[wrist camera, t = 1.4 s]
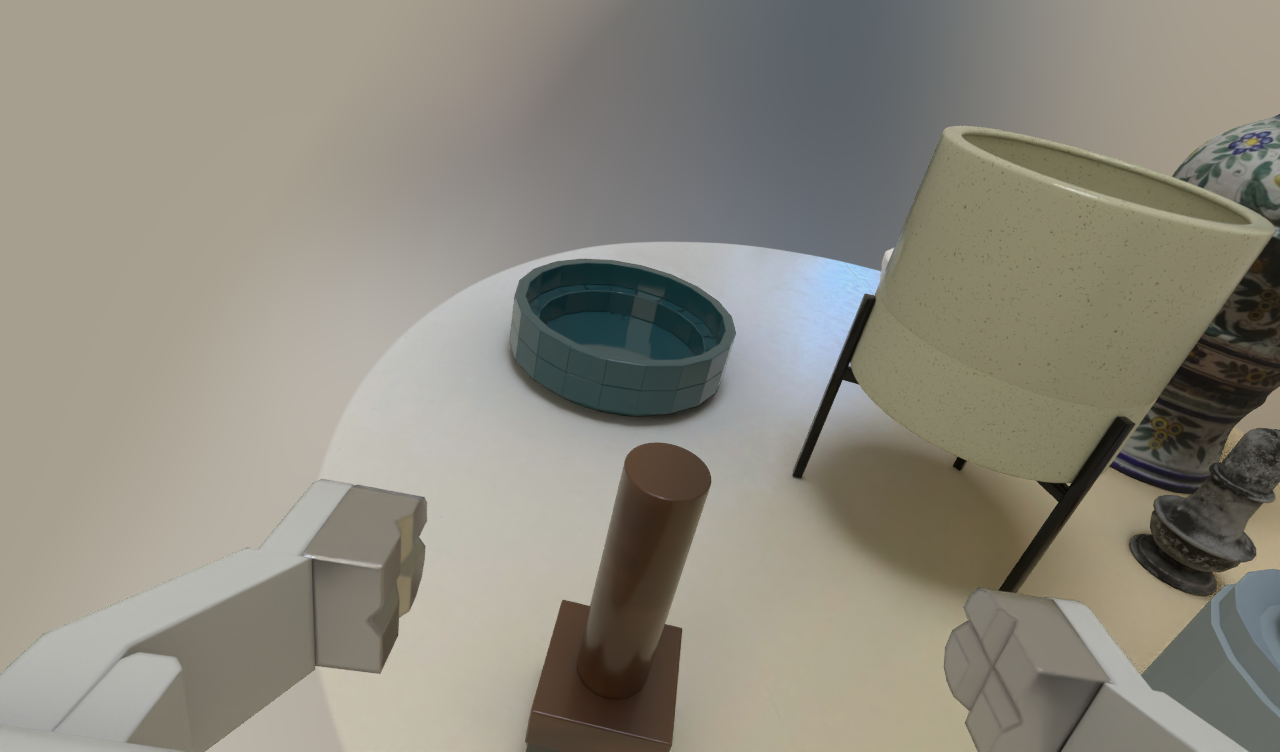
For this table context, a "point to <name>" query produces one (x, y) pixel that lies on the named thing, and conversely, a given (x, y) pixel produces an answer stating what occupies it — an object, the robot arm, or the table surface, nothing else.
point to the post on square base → (625, 618)
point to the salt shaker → (1212, 517)
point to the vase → (1220, 328)
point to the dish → (620, 336)
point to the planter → (1040, 308)
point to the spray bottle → (1230, 663)
